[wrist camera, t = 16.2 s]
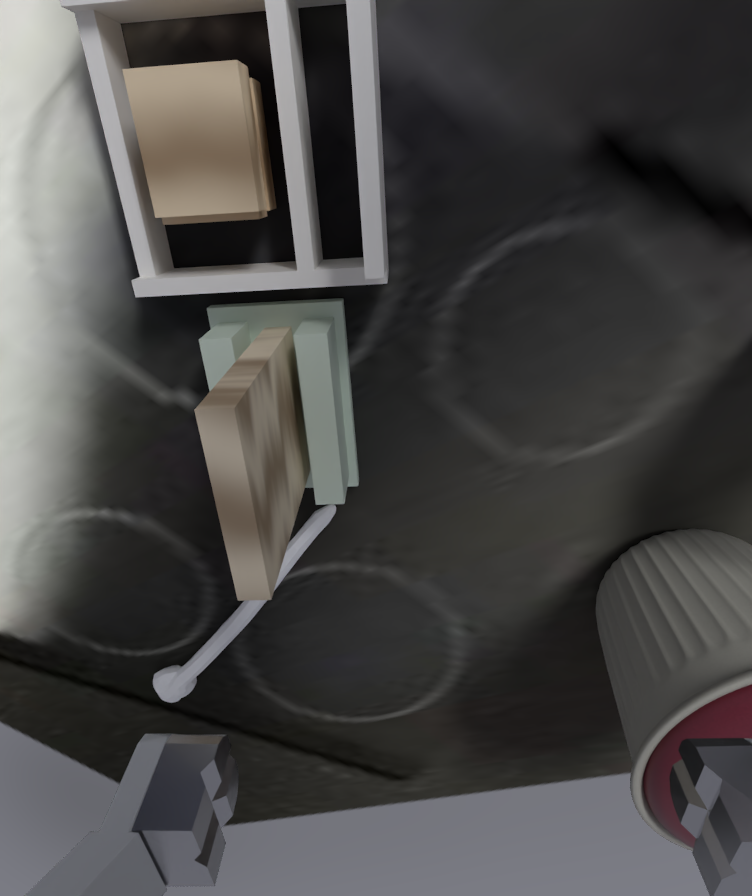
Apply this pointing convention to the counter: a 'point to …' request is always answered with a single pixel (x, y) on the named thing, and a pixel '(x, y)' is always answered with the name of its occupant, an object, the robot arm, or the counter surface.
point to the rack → (99, 22)
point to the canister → (677, 655)
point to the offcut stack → (202, 141)
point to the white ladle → (236, 618)
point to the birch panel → (256, 458)
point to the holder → (300, 378)
